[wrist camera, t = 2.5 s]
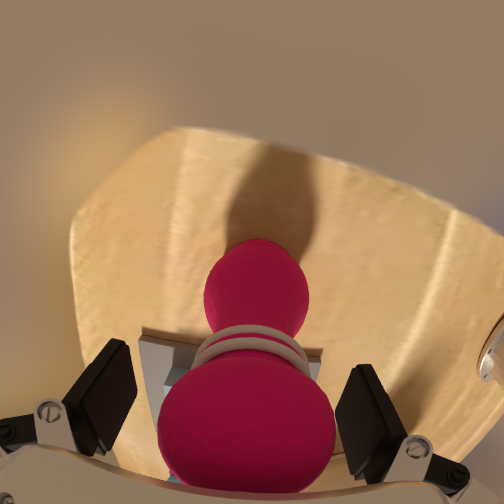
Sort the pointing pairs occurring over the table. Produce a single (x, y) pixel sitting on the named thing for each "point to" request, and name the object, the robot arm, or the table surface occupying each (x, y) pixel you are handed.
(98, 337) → the table surface
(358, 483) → the jug
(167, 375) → the pedestal board
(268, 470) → the pepper mill
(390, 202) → the table surface
